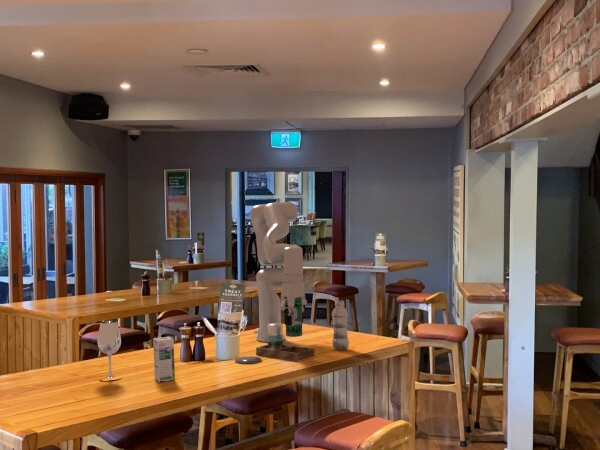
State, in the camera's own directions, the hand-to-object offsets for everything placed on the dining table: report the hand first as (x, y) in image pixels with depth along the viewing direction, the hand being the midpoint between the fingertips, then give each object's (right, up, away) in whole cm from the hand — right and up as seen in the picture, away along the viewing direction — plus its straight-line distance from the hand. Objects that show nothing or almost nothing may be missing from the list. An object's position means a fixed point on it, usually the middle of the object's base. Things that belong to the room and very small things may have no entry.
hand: (293, 323), depth 265 cm
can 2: (0, -5, 0) cm, 5 cm away
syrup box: (-44, -15, -31) cm, 56 cm away
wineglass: (-64, -16, -28) cm, 72 cm away
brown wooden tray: (-3, -13, +3) cm, 14 cm away
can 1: (-7, -13, +6) cm, 16 cm away
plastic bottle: (+19, -13, +12) cm, 26 cm away
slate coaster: (-17, -14, -5) cm, 23 cm away
